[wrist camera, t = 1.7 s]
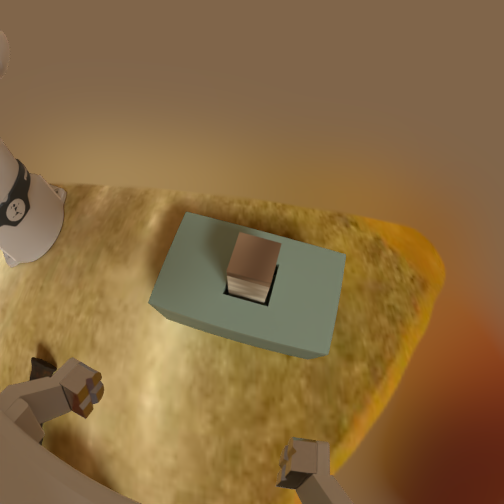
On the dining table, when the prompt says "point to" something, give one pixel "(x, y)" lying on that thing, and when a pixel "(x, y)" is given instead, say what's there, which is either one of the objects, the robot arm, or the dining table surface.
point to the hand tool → (41, 372)
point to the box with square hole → (245, 312)
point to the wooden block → (252, 267)
